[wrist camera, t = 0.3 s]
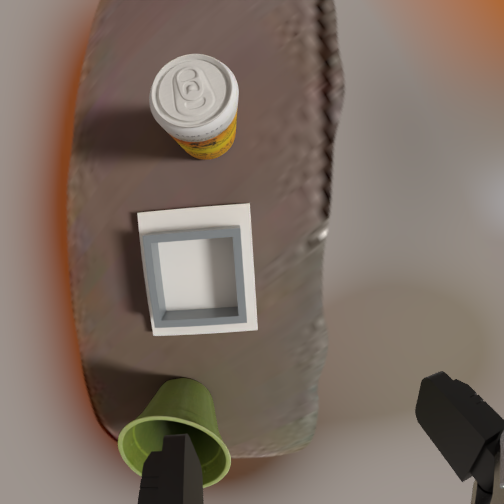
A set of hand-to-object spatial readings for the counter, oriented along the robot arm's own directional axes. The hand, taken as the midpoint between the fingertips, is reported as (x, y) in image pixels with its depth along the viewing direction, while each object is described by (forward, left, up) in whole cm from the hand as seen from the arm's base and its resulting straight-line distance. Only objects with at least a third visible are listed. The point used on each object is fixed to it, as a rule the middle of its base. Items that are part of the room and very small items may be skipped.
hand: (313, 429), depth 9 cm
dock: (0, -6, -27) cm, 28 cm away
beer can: (-15, -4, -27) cm, 31 cm away
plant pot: (+17, -10, -27) cm, 34 cm away
